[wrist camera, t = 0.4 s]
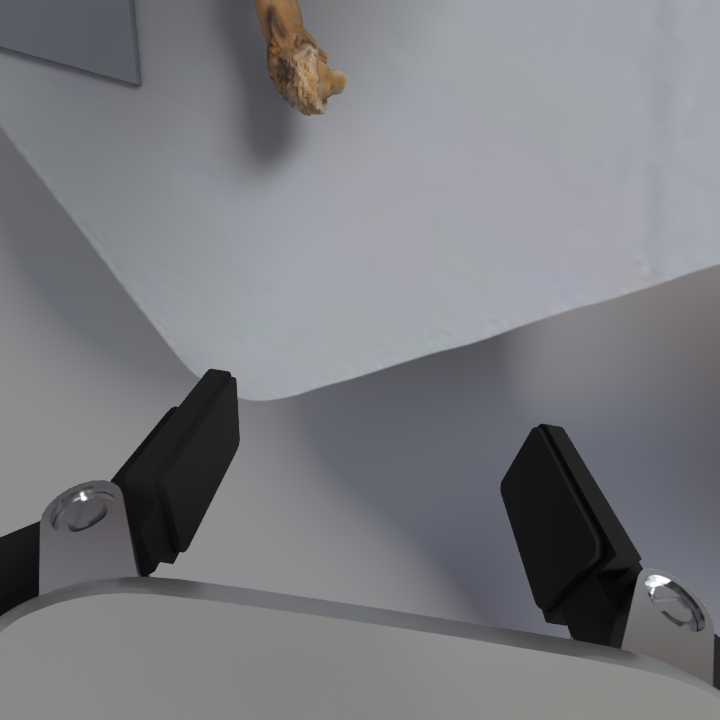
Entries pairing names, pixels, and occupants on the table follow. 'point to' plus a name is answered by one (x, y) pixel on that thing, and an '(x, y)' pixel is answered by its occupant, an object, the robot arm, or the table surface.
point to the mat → (75, 34)
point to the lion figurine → (296, 58)
